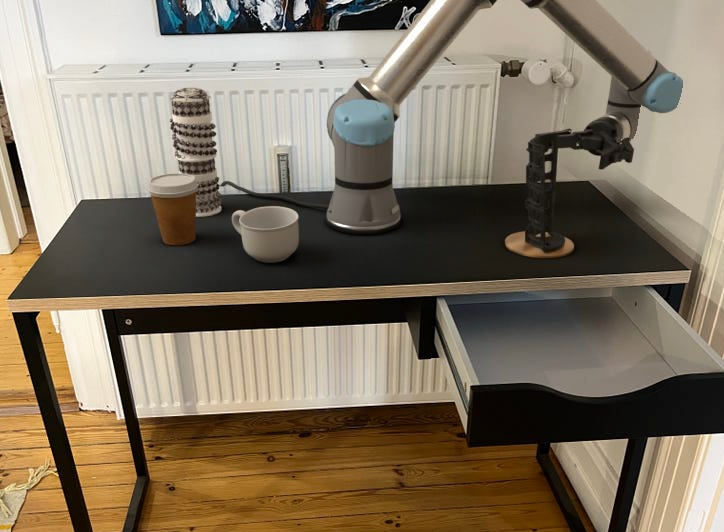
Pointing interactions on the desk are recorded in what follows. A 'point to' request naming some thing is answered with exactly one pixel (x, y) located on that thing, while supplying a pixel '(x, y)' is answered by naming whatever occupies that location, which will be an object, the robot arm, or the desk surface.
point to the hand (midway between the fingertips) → (566, 156)
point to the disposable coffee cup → (175, 206)
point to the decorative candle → (196, 146)
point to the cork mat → (521, 247)
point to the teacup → (268, 232)
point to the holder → (542, 194)
